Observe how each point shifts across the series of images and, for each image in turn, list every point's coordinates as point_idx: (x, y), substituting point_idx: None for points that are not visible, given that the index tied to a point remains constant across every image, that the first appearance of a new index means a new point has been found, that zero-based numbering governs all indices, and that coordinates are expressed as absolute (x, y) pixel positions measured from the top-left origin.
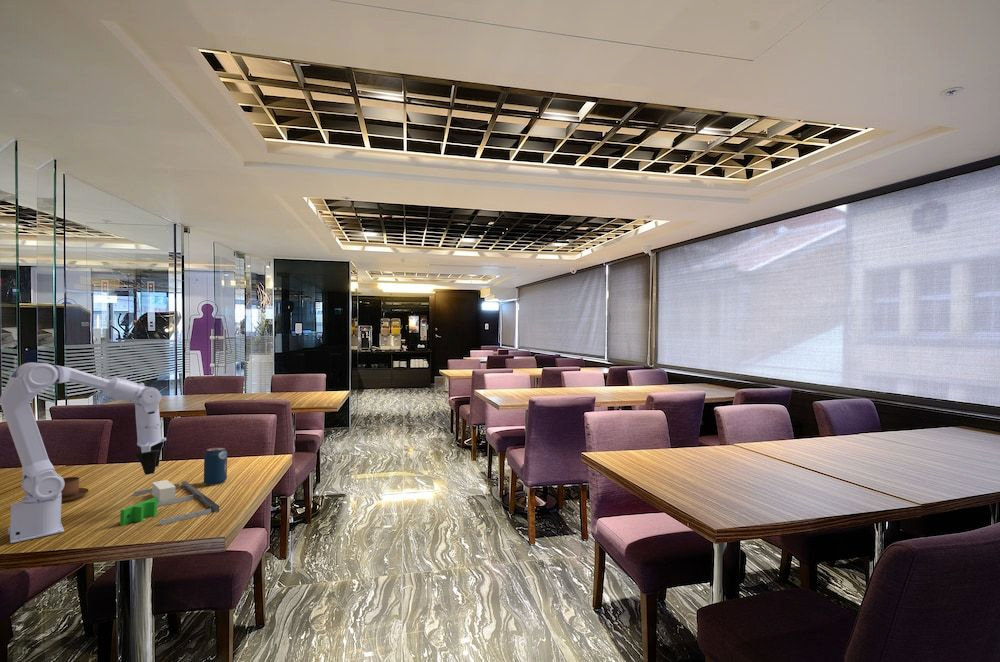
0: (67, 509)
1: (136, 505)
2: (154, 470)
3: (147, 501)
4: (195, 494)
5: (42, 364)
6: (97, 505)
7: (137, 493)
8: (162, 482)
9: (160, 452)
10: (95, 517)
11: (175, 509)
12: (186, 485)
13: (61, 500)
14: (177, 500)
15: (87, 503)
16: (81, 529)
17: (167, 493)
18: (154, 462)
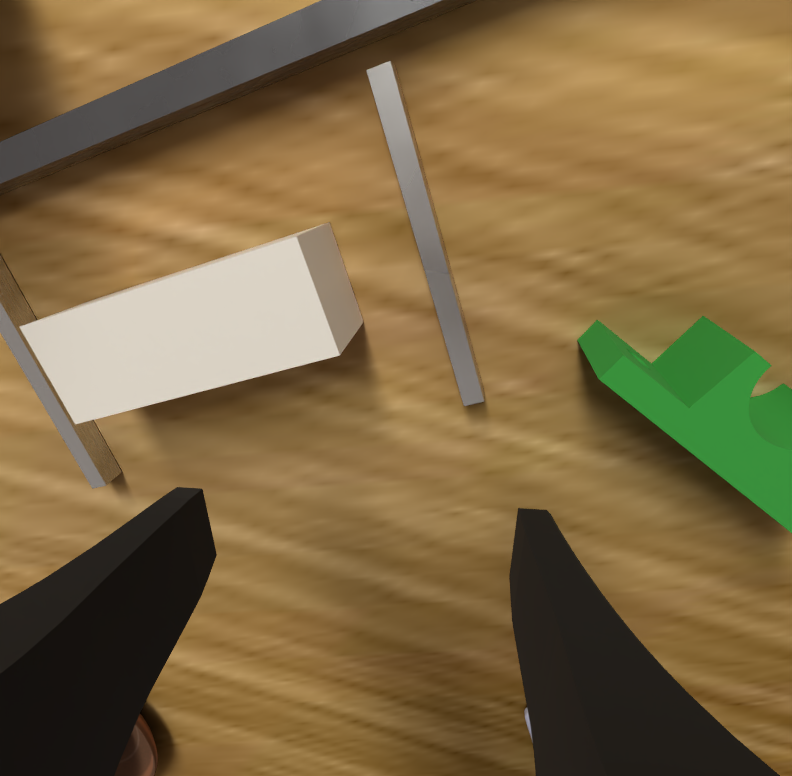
0: (262, 695)
1: (769, 479)
2: (556, 530)
3: (703, 417)
4: (335, 50)
5: None
6: (249, 607)
7: (108, 464)
8: (100, 354)
9: (25, 609)
10: (488, 602)
11: (633, 192)
12: (49, 161)
13: (151, 733)
14: (430, 197)
15: (190, 642)
16: (684, 637)
17: (331, 288)
18: (634, 637)
